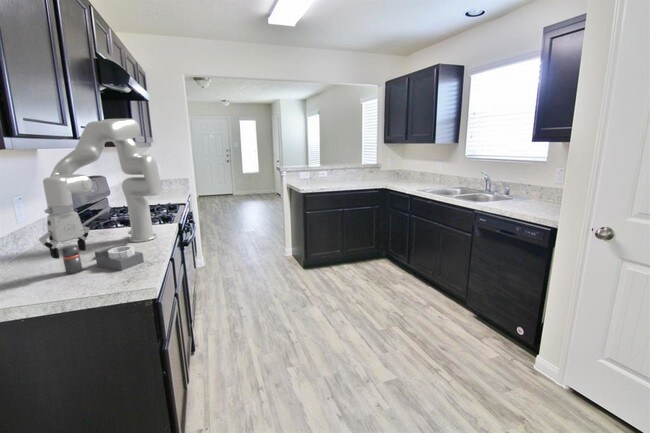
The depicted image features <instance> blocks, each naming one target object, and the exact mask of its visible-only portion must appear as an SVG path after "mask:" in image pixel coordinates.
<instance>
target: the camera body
mask: <svg viewBox="0 0 650 433" xmlns="http://www.w3.org/2000/svg"><path fill="white" fill-rule="evenodd" d="M102 249H103V250H101V249H100V250H98V251H95V252H94V255H95V261H96V266H97V267H99V268H105V269H111V270H116V271H124V270H127V269H129V268H132V267H134V266H136V265H139V264H141V263H144V262H145V259H144V255H143V252H142V251H140V252H139V251H136V250H135V247H134V245H127V246H122V245H120V244H116V245H112V246H110V247H106V248H102Z"/></svg>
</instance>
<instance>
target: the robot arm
mask: <svg viewBox="0 0 650 433" xmlns="http://www.w3.org/2000/svg"><path fill="white" fill-rule="evenodd" d="M83 128H84V129H83V130H82V133H81V135H80V137H79V140H78V142H77V143H76V146H75V148H74V149H73V150H72V151H70V152H69V153H68V154H66V155H65V156H64V157H63V158H62V159H60V161H58V162H57V163H56V164H55V166H54V168H53V170H52V171H51V174H50V176H49V177H45V178H44V179H43V180H42V185H43V190H44V194H45V200H46V206H47V207H46V208H47V209H44V213H45V214H48V215H47V217H46V228H47V232H46V233H45V234H43V235H42V236H41V237H39V239H38V241H39V242H40V243H41V244H42V245H43V246H45V247H46V248H48V249H49V252H50V253H49V254H50V257H51V258H52V259H56V260H57V259H60V253H59V249H58V247H57V246H58V244H59V243H64V242H68V241H72V240H77V239H78V240H77V246H78V249H79V251H83V252H84V251H86V250H87V249H86V248H87V245H86V240H87V237H89V233H90V227H88V226H83V224H82V220H81V218H80V216H79V214H78V212H77V211H75V208H74V201H73V196H72V195H81V194H86V193H88V192H90V191H91V190H92V188H93V181H92V179H91V178H90V177H89V176H87V175H85V174H78V173H77V174H75V172H76V171H77V170H79V169H81V168H83V167H85V166H88V165H91V164H93V163H95V162H97V161H98V160H99V159H100V157H101V154H102V152H103V149H104V146H105V145H106V143H107V142H112V143H113V144H114V146H115V148H116V150H117V156H118V160H119V165H120V168H121V170H122V172H123V174H125V175H131V176H132V177H127V178H125V179H124V180H123V181H122V183H121V190H122V192H123V194H124V198H125V201H126V205H127V211H128V218H129V222H130V223H129V224H130V225H129V226H130V230H129V231H128V232H127V234H128V235H130V237H129V242H133V243H141V242H147V241H153V240H155V239H156V238H157V237H158V235H157V233H155V232H154V229H153V223H152V217H151V216H152V215H151V210H150V202H148V200H147V198H146V197H156V196H158V195H159V194H161V191H162V184H161V180H160V173H159V169H158V164H157V160H155V158H154V157H153V156H151V155H148V154H140V153H139V150H138V147H137V144H136V141H135V140H134V139H135V138H137V137H138V136H139V135H140V134H141V133H140V132H141V127H140V124H139V123H138V122H137V120H135V119H134V118H108V119H107V118H106V119H102V120H95V121H91V122H88V123H87V124H86V125H85V126H84V127H83ZM133 175H134V176H133ZM137 175H139V176H137ZM47 240H48V241H47Z"/></svg>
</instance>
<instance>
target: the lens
mask: <svg viewBox="0 0 650 433" xmlns="http://www.w3.org/2000/svg"><path fill="white" fill-rule="evenodd" d="M60 251H61V255H62V261H63V264H64V265H63V266H64V270H65V273H66V275H68V276H69V275H70V276H71V275H76V274H79V273H81V272H83V271H84V269H83V266H82V260H81V256H80V250H79V248H78V244H77V245H76V244H75V245H67V246H63V247H61V248H60Z"/></svg>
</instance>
